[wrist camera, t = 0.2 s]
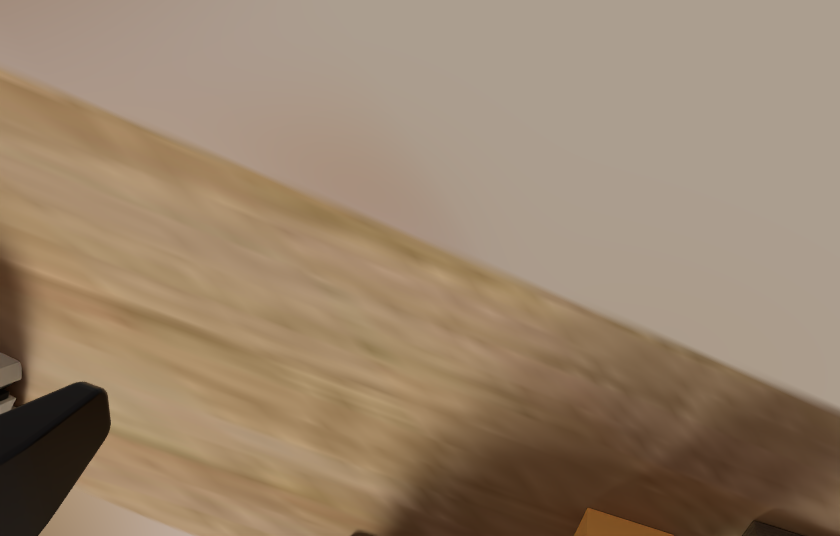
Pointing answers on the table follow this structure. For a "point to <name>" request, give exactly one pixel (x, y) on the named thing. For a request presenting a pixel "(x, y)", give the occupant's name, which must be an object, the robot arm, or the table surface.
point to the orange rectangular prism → (612, 526)
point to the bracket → (766, 530)
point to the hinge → (8, 380)
